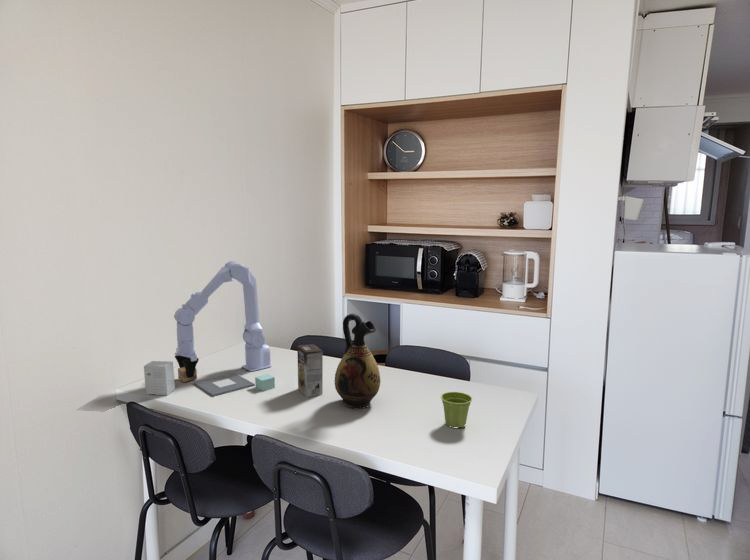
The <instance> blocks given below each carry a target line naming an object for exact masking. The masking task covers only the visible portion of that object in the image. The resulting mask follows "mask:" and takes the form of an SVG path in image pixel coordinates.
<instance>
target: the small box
mask: <svg viewBox="0 0 750 560" xmlns="http://www.w3.org/2000/svg"><path fill="white" fill-rule="evenodd" d="M143 373H144V383H145V385H144V386H145V387H144V389H145V394H146V395H148V394H155V396H168V395H170V394H171V393H173V391H174V390H176V387H175V386H176V385H175V384H176V383H175V371H174V362H173V361H163V360H162V361H160V360H159V361H157V360H152V361H150V362H148V363H146V364H145V365H143Z"/></svg>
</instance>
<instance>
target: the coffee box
mask: <svg viewBox="0 0 750 560" xmlns="http://www.w3.org/2000/svg"><path fill="white" fill-rule="evenodd" d="M296 347H297V388H298V390H299V391H300V392H301V393H302V394H303V395H304V396H305V397H306V398H308V397H313V396H319V395H323V391H324V390H323V385H324V384H323V381H324V379H323V375H324V374H323V366H324V365H323V356H324V355H323V354H324V353H323V350H322V349H321V348H320V347H318V346H317V345H316V344H314V343H311V344H301V345H297V346H296Z"/></svg>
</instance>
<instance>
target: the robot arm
mask: <svg viewBox="0 0 750 560" xmlns="http://www.w3.org/2000/svg"><path fill="white" fill-rule="evenodd" d="M233 279H234V280H236V281H237V282H239V283H240V284H241V285H242V290H243V302H244V314H245V324H244V330H243V333H242V339H243V341H244V342H245V345H244V349H245V350H244V351H245V352H244V353H245V364H244V365H241V368H244V369H245V370H247V371H249V372H255V371H258V370H263V369H268V368H271V367H272V365H271V349H270V346H269V345H268V344H266V335H265V334H264V332H263V331H264V330H263V328H262V326H261V323H260V315H259V314H260V313H259V312H260V311H259V299H258V289H257V288H258V286H257V279H256V278H255V276H254V275H253V273H252V272H251V271H250V268H249V267H248V266H246V265H244V264H243V263H239V262H236V261H233V260H231V261H228V262H227V263H225V264H224V266H222V267H221V268H220V269H218V272H217V273H216V274H215V275H214V276H213V277H212V278H211V279H210V281H209V282H208V283H207V284H206V286H205V287H204V288H203V289H202V290H201V291H197V292H195V293H191V295H190V298H189V299H188V300H187V301H186V302H185V303H183V304H181V308H178V309H177V310H175V313H174V315H173V317H174V320H175V321H176V339H177V340H176V341H177V347H175V350H176V352H174V358H175V360H176V362H177V363H178V366H179V367H178V368H182V367H185V369H186V374H187V377H188V378H190V377H193V376H194V372H195V368H196V367H197V364H198V362H199V358H198V356H197V354H196V351H195V340H194V338H195V337H194V326H193V323H194V321H195V317H196V315H198V314H199V313H200V311H201V310H203V308H205V307H206V305H207V304H208V303H209V298H210V296H211V295H213V293H214V292H216V291H217V290H218V289H219V288H220V287H221V286H222V285H223V284H224V283H229V282H233Z"/></svg>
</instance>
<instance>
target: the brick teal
mask: <svg viewBox="0 0 750 560" xmlns="http://www.w3.org/2000/svg"><path fill="white" fill-rule="evenodd" d="M254 380H255V381H254V382H255V383H254V384H255V386H254V387H255V388H256V389H259V390H260V391H262V392H264V391H267V390H271V389H275V388H276V386H275V385H276V384H275V380H276V379H275V376H272V375H270V374H269V373H266V374H262V375H257V376H255V377H254Z"/></svg>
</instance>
